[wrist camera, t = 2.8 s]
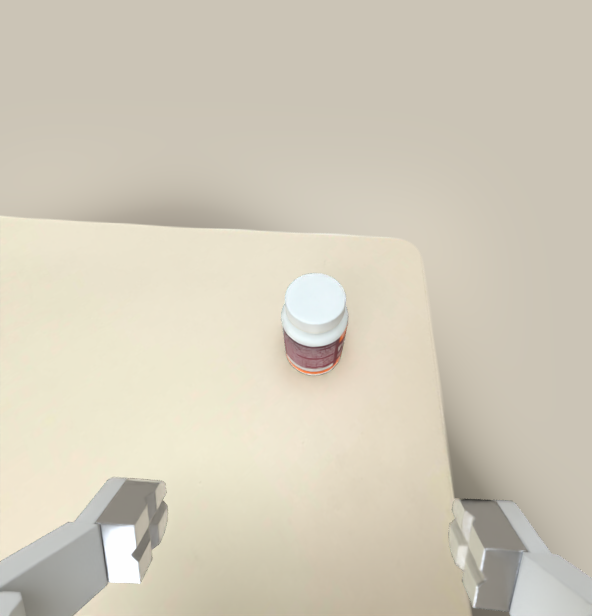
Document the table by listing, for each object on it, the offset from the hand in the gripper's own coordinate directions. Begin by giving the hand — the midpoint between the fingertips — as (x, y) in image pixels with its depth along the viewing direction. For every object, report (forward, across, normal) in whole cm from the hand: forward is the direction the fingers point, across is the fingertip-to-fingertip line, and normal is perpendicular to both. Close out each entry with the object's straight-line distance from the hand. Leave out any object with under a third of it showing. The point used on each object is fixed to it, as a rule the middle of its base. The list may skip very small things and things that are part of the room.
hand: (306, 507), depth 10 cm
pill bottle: (+20, 0, +3) cm, 21 cm away
